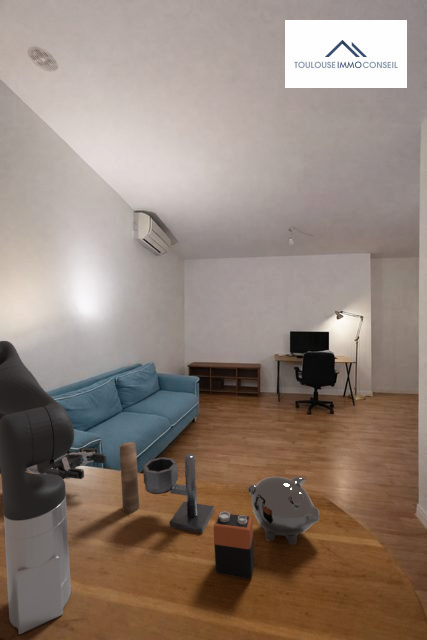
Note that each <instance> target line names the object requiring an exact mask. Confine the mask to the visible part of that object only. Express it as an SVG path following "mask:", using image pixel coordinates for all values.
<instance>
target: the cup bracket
mask: <svg viewBox="0 0 427 640" xmlns="http://www.w3.org/2000/svg"><path fill="white" fill-rule="evenodd" d="M183 458H184V472H185V473H184V474H185V484H179V483H177V482H178V479H179V475H178V464H177V462H176V460H174V458H171V457H170V458H169V457H162V456H161V457H158V458H154V459H149V461H147V462H146V463H145V464H144V465H143V467H142V471H143V484H144V488H145V491H146V492H147V493H148V494H152V495H163V494H166V493H168V492H169V494H174V495H180V496H186V501H183V502H182V503H181V505H179V508H178V509H177V511H176V512H175V513H174V515H173V516H172V518H171V519H170V521H169V528H173V529H177V530H183V531H188V532H192V533H193V532H194V533H199V534H203V533H204V531H205V529H206V527H207V526H208V523H209V521H210V520H211V517H212V515H213V514H214V512H215V506H214V505H208V504H201V503H198V500H197V499H198V497H197V495H198V494H197V476H196V475H197V474H196V461H195V460H196V459H195V458H196V455H195V454H193V453H186V454H185V455H184V457H183Z"/></svg>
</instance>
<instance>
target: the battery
mask: <svg viewBox="0 0 427 640" xmlns="http://www.w3.org/2000/svg"><path fill="white" fill-rule="evenodd" d="M253 524H254V523H253V517H252V516H251V515H245V514H244V515H243V514H239V513H238V514H236V513H230V512H228V511H221V512H218V514H217V516H216V518H215V521H214V524H213V542H214V563H215V564H214V565H215V573H216V574H219V575H225V576H229V577H230V576H231V577H237V578H242V579H247V580H251V579H252V577H253V572H254V567H255V550H254V549H255V547H254V546H255V545H254V527H253Z"/></svg>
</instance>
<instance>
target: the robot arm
mask: <svg viewBox="0 0 427 640" xmlns="http://www.w3.org/2000/svg"><path fill="white" fill-rule="evenodd" d="M74 440H75V429H74V425H73V422H72V419H71V417H70V415H69V413H68V412H67V411H66V409H65V408H64V407H63V405H62V404H60V403H59V402H58V401H57V400H55V399H54V397H52V396H51V395H50V394H49V393H48V392H46V391H45V390H44V388H43V387H42V386H41V384H40V383H39V382H38V380H37V378H36V377H35V376H34V375H33V373H32V372H31V370H29V369H28V368H27V367H26V365H25V363H24V362H23V361H22V359H21V357H20V355H19V353H18V351H17V348H16V347H15V346H14V344H13V343H12V342H10V341H8V340H0V475H1V477H0V479H1V488H2V504H3V505H2V508H3V509H2V510H3V523H4V524H3V525H4V526H3V527H4V543H5V544H4V546H5V562H6V563H5V565H6V584H7V585H6V586H7V599H8V600H7V601H8V617H9V622H10V625H12V627H15V628H16V629H17V630H18V631H17V632H18V635H22V634H24V633H27V632H29V631H30V630H32V629H35V628H37V627H39V626H41V625H43V624H45V623H47V622H49V621H52V620H54V619H56V618H58V617H60V616H62V615H63V614H64V607H65V606H66V604H67V603H68V601H69V599H70V598H71V597H70V596H71V594H72V593H71V592H72V586H71V585H72V584H71V570H70V569H71V568H70V552H69V551H70V550H69V534H68V533H69V532H68V514H67V513H68V512H67V511H68V510H67V491H66V482H65V480H69V479H74V480H77V479H78V480H82V479H85V470H84V469H82V468H78V467H82V466H86V465H87V464H89V463H97V464H98V463H99V464H105V463H106V462H107V455H106V454H103V453H99V449H98V448H90V447H81V448H79V451H78V452H70V450H71V448H72V446H74V445H73V444H74V443H75V441H74ZM82 459H83V461H82Z"/></svg>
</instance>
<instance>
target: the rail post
mask: <svg viewBox="0 0 427 640" xmlns="http://www.w3.org/2000/svg"><path fill="white" fill-rule="evenodd" d="M119 458H120V459H119V461H120V473H121V474H120V476H121V477H120V478H121V479H120V480H121V481H120V482H121V496H122V497H121V498H122V512H124V513H125V514H131V513H130V512H132V513H135V512H136V511H137V510H138V509H139V508H140V497H139V495H140V494H139V481H138V461H137V460H138V457H137V444H136V442H132V441H131V442H125V443H122V444H120V446H119ZM135 510H136V511H135Z"/></svg>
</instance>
